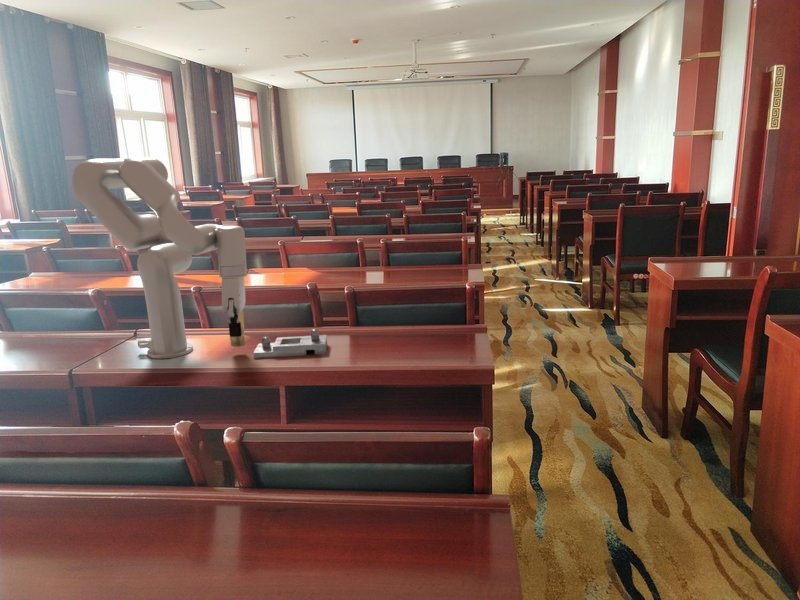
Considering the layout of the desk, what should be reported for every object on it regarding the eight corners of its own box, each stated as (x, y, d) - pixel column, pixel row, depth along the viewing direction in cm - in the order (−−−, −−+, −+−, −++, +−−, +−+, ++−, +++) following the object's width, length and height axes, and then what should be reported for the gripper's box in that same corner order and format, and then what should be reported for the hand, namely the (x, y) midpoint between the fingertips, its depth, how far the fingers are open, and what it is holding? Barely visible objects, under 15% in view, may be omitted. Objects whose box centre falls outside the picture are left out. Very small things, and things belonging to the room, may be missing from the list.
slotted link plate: (253, 358, 168) (252, 342, 167) (259, 348, 177) (257, 333, 176) (306, 355, 169) (304, 339, 168) (308, 345, 178) (307, 330, 177)
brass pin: (229, 346, 170) (226, 312, 168) (232, 342, 174) (229, 308, 172) (243, 346, 170) (241, 312, 168) (246, 342, 174) (244, 308, 172)
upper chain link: (273, 357, 169) (271, 336, 167) (277, 347, 177) (276, 327, 176) (325, 354, 169) (324, 333, 168) (327, 344, 178) (325, 325, 177)
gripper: (225, 265, 175) (230, 326, 179) (212, 276, 159) (217, 343, 163) (251, 265, 175) (255, 325, 180) (241, 276, 159) (245, 342, 163)
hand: (237, 333), depth 171 cm, fingers closed on brass pin, 4 cm apart
